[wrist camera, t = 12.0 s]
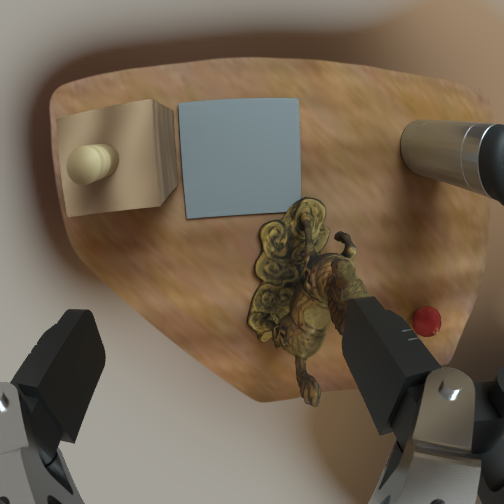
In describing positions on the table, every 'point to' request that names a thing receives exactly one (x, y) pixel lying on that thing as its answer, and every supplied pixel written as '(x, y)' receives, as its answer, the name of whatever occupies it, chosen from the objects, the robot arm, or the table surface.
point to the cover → (117, 157)
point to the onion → (427, 321)
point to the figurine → (302, 286)
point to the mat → (240, 156)
